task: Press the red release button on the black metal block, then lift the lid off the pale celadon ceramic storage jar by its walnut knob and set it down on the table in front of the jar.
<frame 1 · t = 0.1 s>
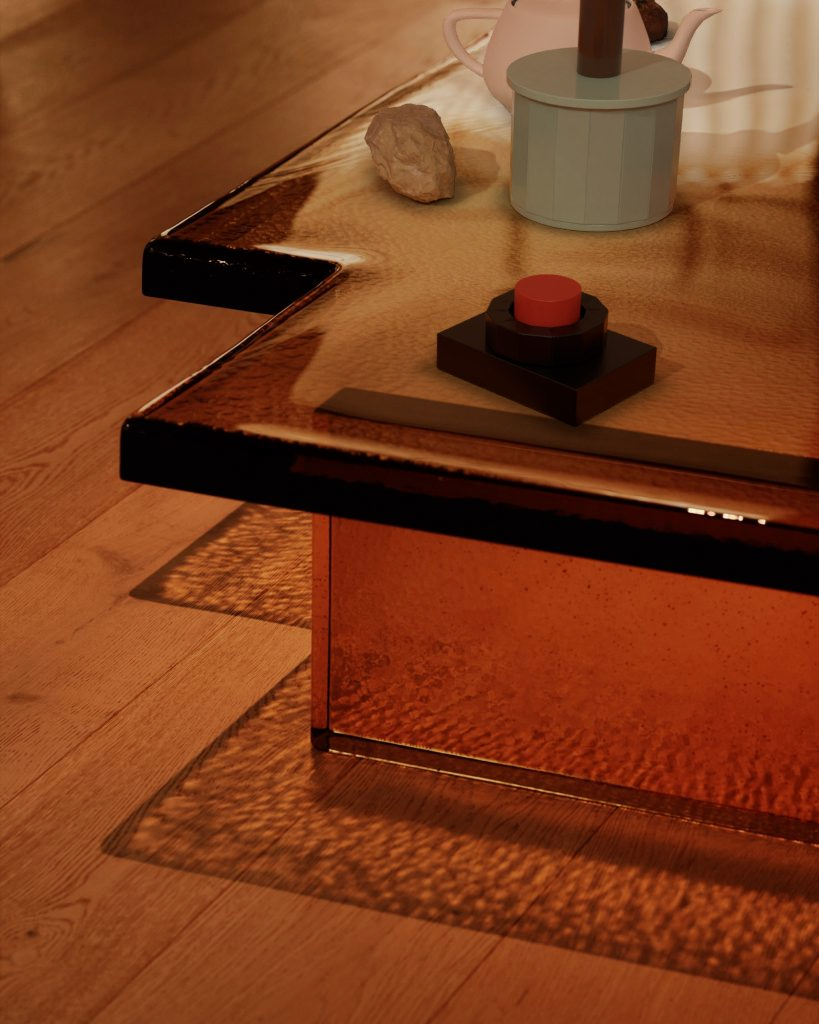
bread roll: (607, 35, 149), on the table
jar: (591, 201, 112), on the table
button block: (544, 375, 89), on the table
teapot: (575, 111, 130), on the table
stone tool: (408, 184, 116), on the table
lid: (598, 80, 108), point 8 cm above the table, touching jar
button: (547, 301, 87), point 4 cm above the table, slide at 0.1 cm
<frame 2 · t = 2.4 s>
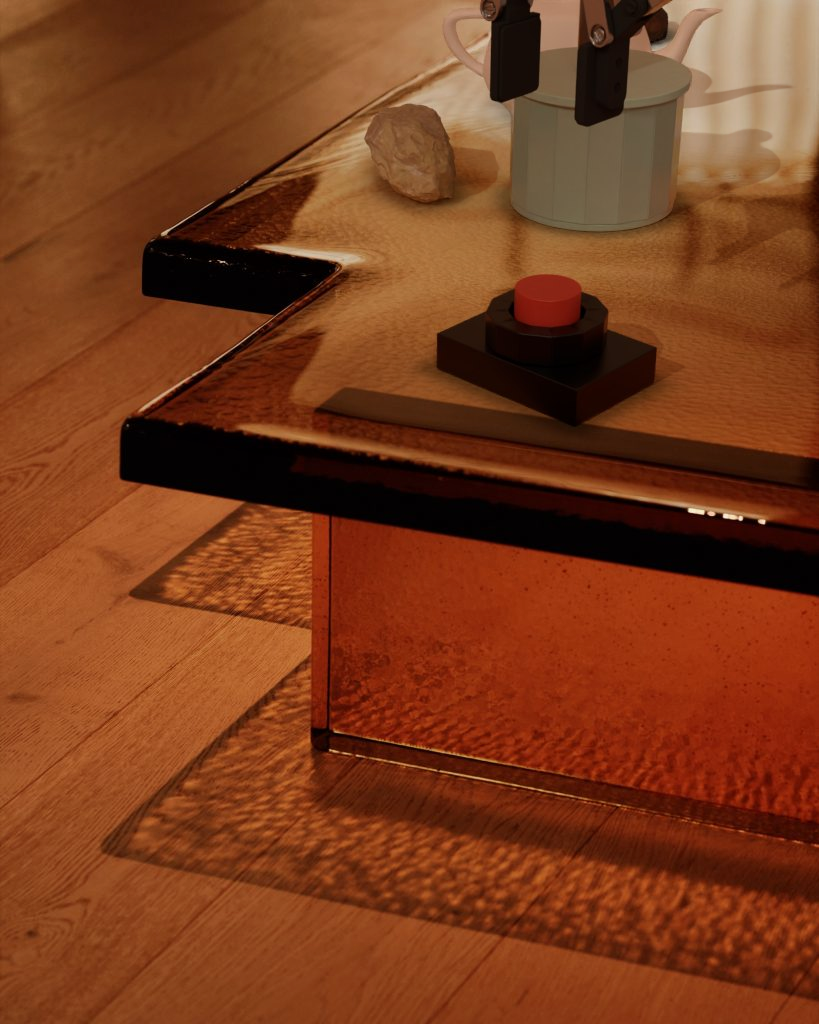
hand: (556, 104, 81), 15 cm above the table, tool pointing down, fingers open, 4 cm apart
nothing on the table moved.
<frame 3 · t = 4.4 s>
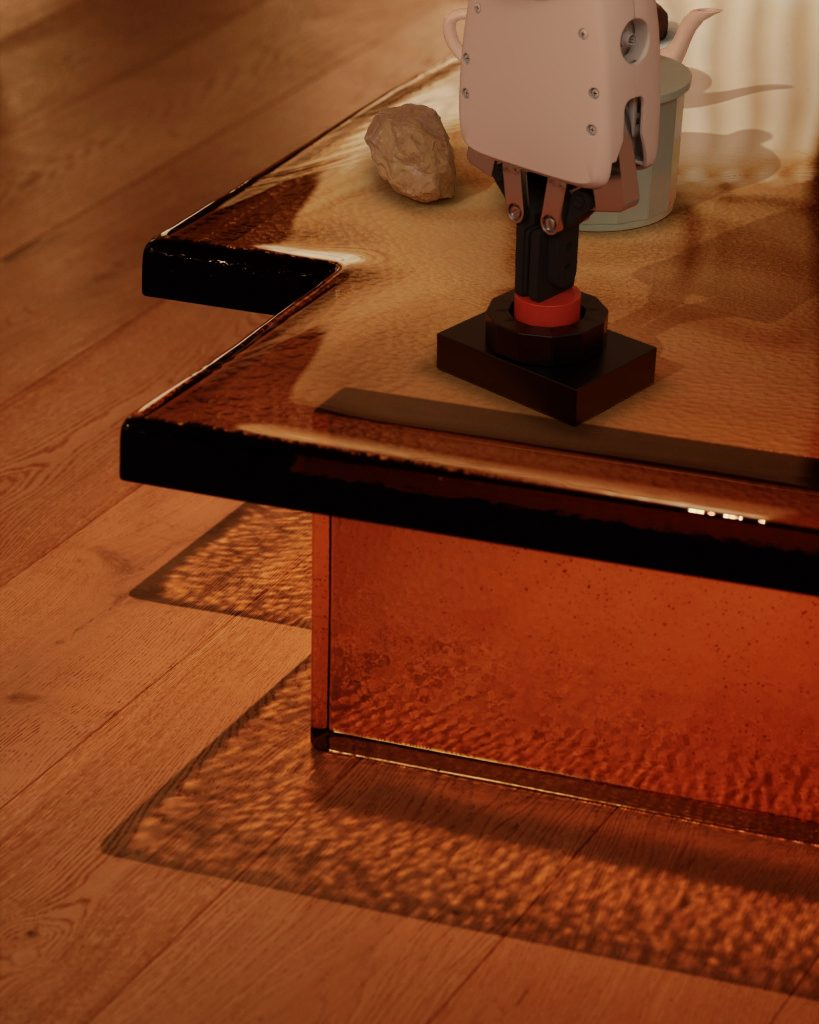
hand: (544, 290, 87), 5 cm above the table, tool pointing down, fingers closed
button: (547, 307, 87), point 4 cm above the table, slide at -0.2 cm, touching gripper
everything else where it was.
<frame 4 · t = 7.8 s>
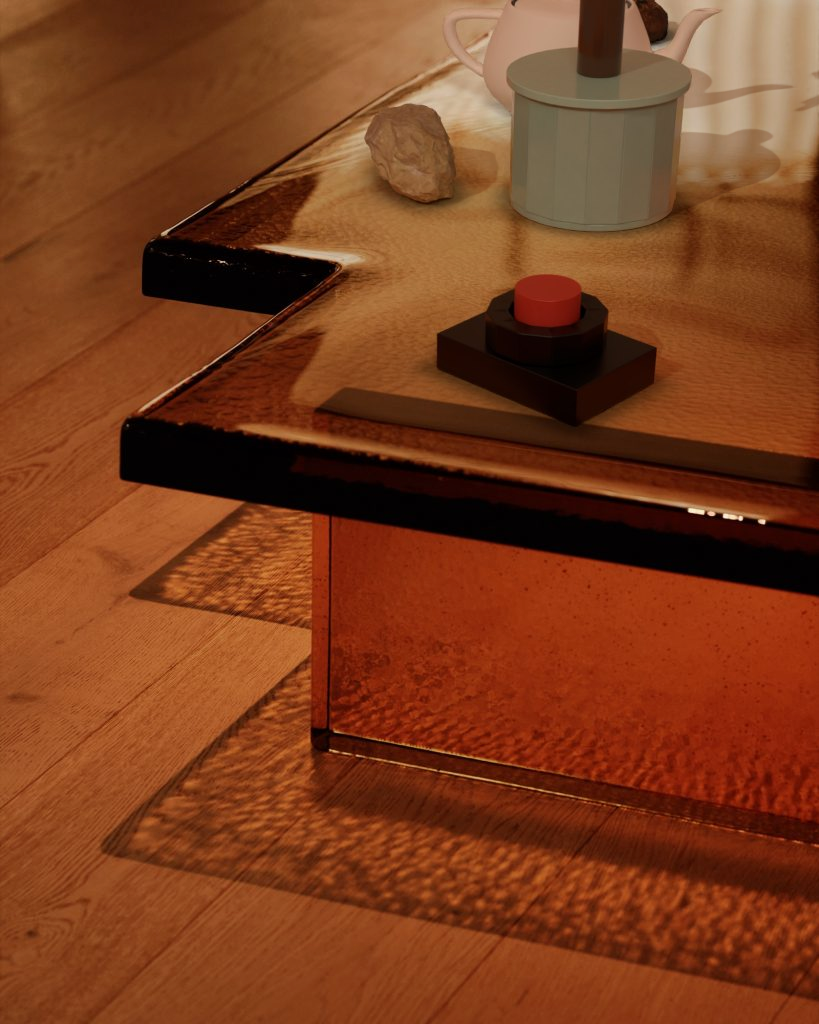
button: (547, 301, 87), point 4 cm above the table, slide at 0.1 cm
everything else where it was.
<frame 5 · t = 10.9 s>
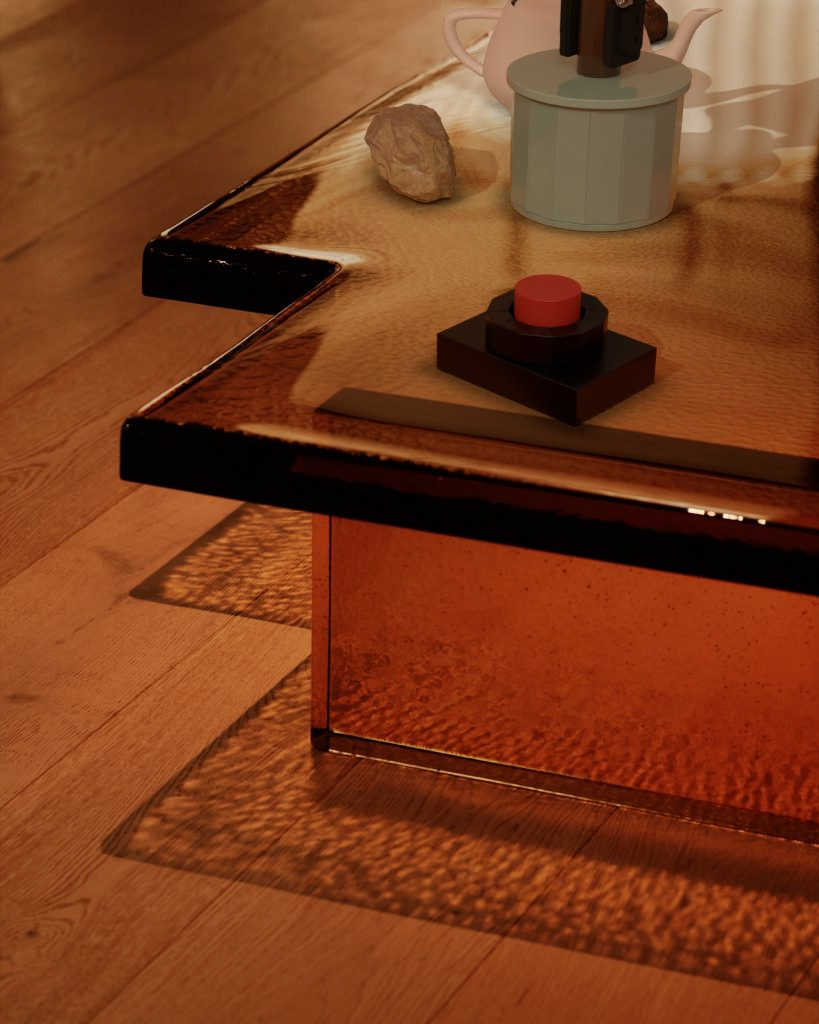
hand: (599, 55, 107), 10 cm above the table, tool pointing down, fingers closed on lid, 3 cm apart
lid: (598, 80, 108), point 9 cm above the table, touching gripper, jar
everything else where it was.
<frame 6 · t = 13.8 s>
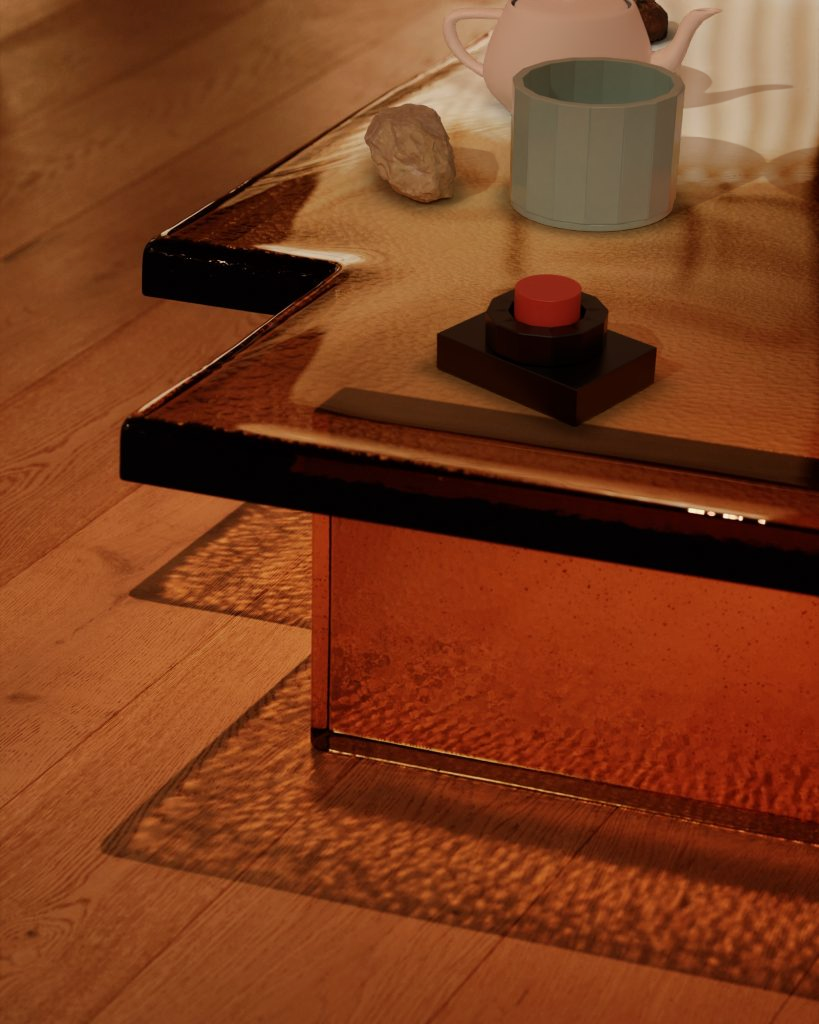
when the fingers open (2 cm above the table, at t = 16.8 s): lid stays where it is, point 1 cm above the table.
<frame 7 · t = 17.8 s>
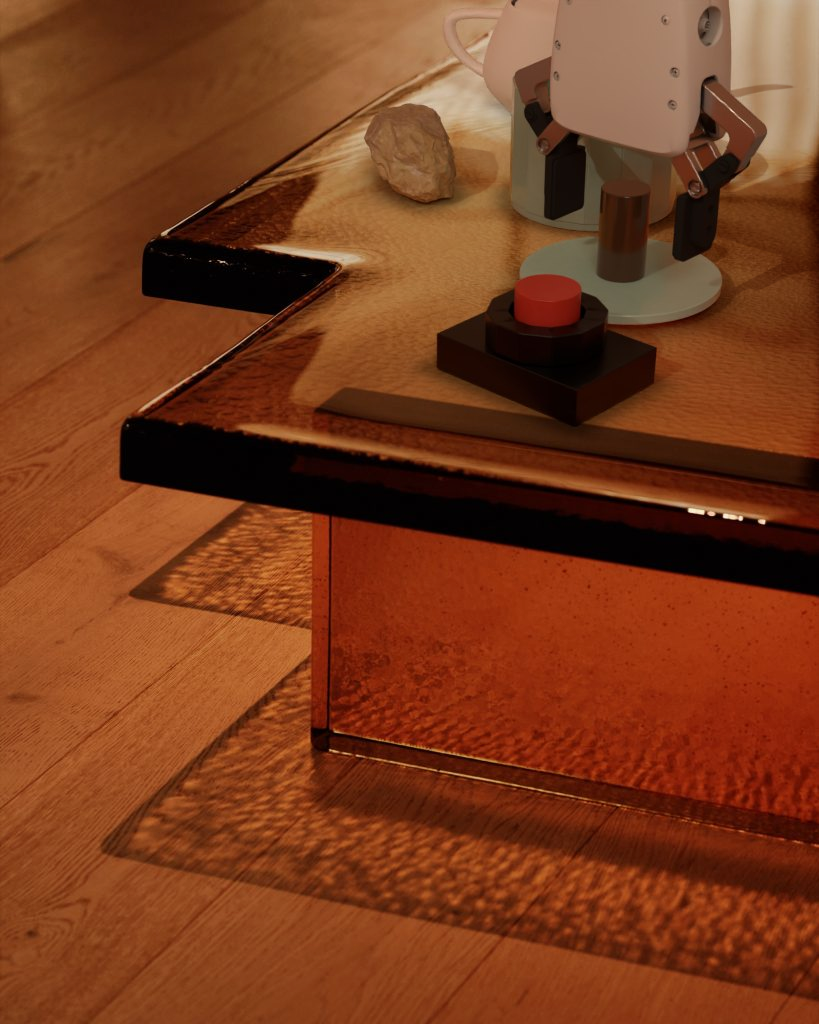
hand: (626, 233, 97), 4 cm above the table, tool pointing down, fingers open, 9 cm apart
lid: (619, 282, 99), point 1 cm above the table
everything else where it was.
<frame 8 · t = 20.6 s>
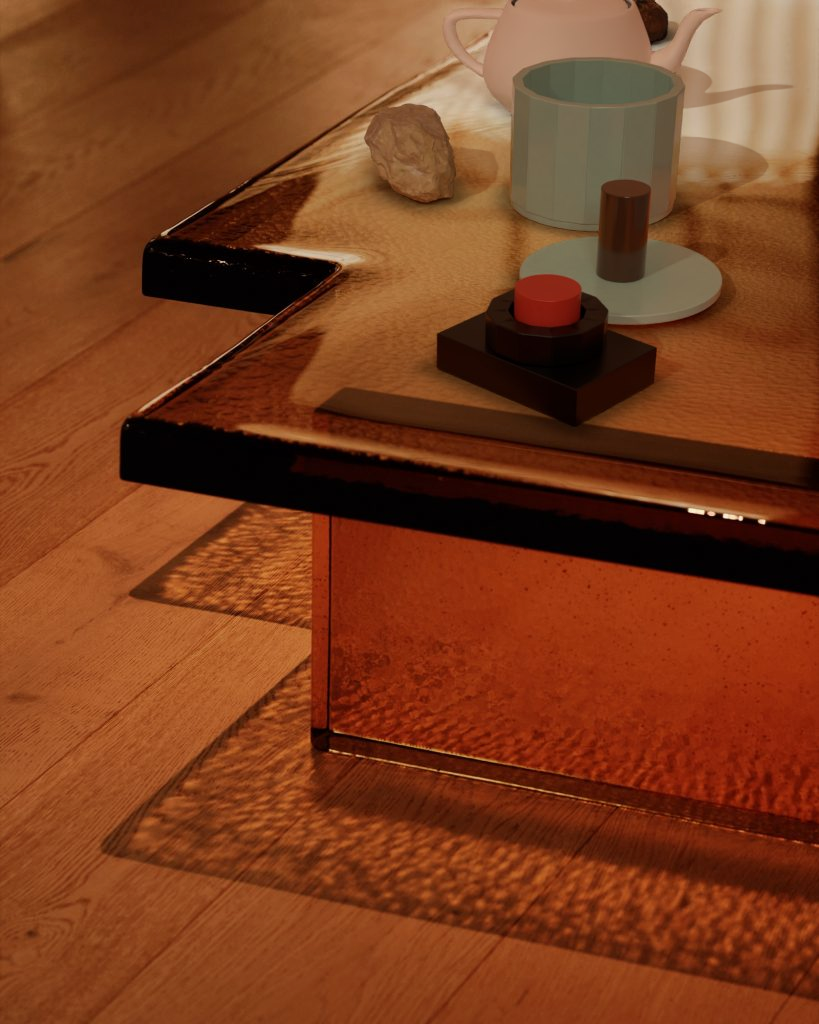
nothing on the table moved.
at the end: button pushed in 1.1 cm at the most during the clip, back to where it started at the end; button slide at 0.1 cm; lid inside the target area on the table beside the jar (0.1 cm from its centre), point 0.6 cm above the table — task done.
